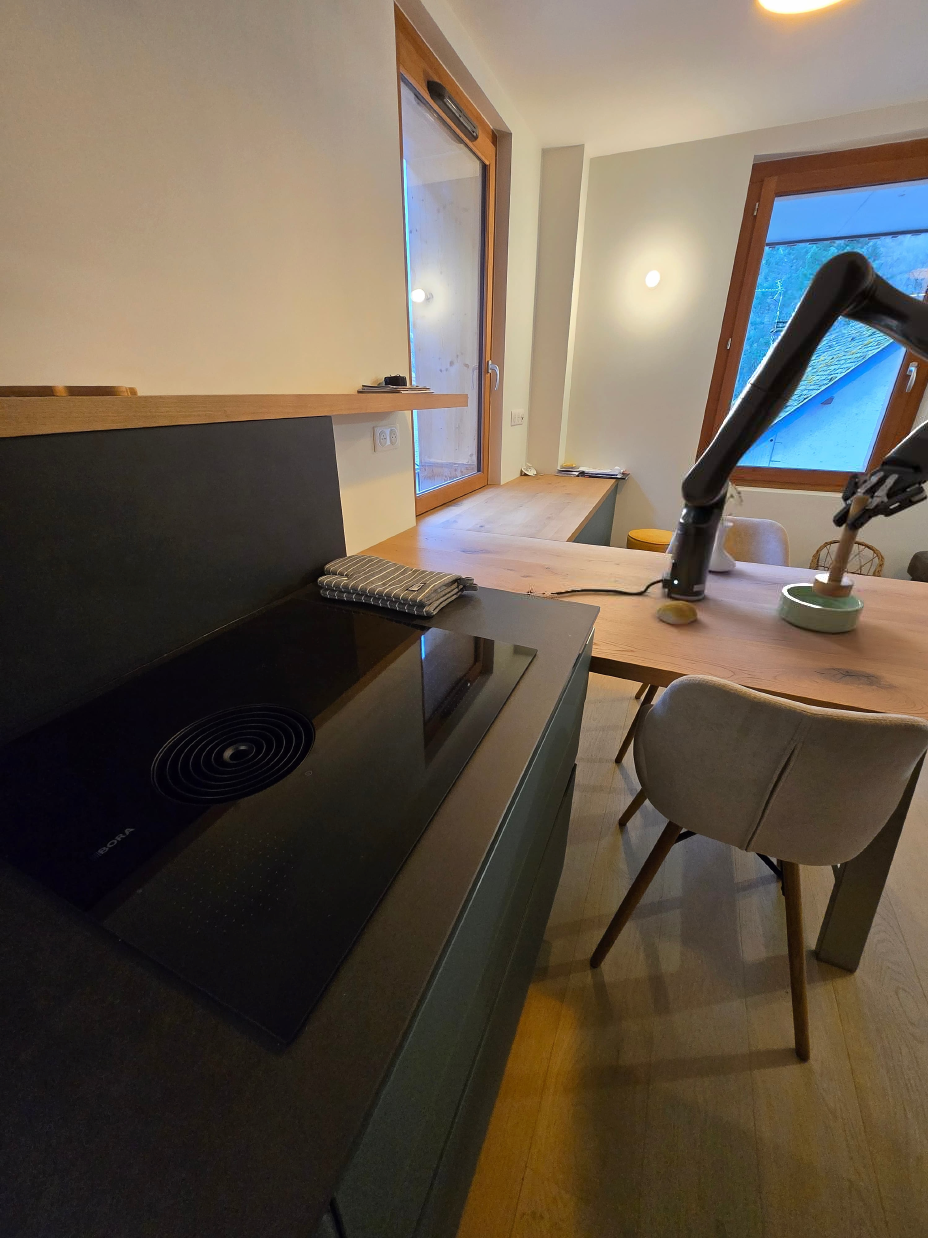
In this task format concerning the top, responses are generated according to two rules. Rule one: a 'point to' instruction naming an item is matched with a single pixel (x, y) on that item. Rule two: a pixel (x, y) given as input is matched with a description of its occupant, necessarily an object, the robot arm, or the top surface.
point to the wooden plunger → (841, 559)
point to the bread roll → (677, 612)
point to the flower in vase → (719, 555)
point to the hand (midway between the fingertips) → (843, 525)
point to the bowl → (819, 609)
